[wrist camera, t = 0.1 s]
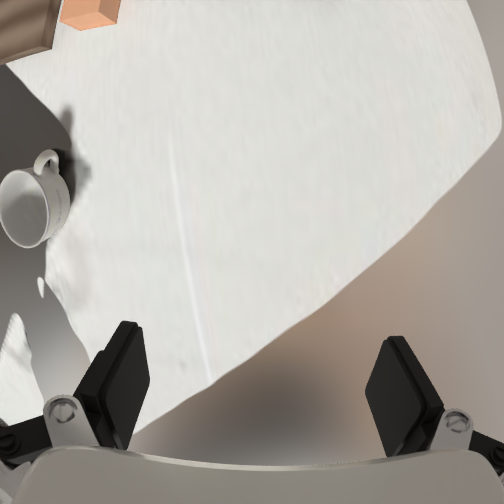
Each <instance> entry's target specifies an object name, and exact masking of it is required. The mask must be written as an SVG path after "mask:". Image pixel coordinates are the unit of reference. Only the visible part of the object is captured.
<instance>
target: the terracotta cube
mask: <svg viewBox="0 0 504 504" xmlns="http://www.w3.org/2000/svg"><path fill="white" fill-rule="evenodd" d="M120 2H121V0H64V3H63V7H62V11H61V16H60V22H62V23H64V24H67V25H69V26H71V27H73V28H75V29H77V30H80V31H82V30H87V29H91V28H96V27H102V26H107V25H113V24H116V23H117V18H118V12H119V7H120Z"/></svg>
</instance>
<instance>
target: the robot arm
mask: <svg viewBox="0 0 504 504" xmlns="http://www.w3.org/2000/svg"><path fill="white" fill-rule="evenodd" d="M149 383H150V376H149V370H148V364H147V358H146V351H145V345H144V338H143V331H142V327H139V326H138V324H137V323H136V322H130V321H122V322H121V323H120V324H119V326H118V328H117V329H116V331H115V333H114V334H113V336H112V338H111V339H110V341H109V343H108V344H107V346H106V348H105V349H104V351H102V350H101V351H99V352H98V353H97V355H96V357H95V358H94V360H93V362H92V363H91V365H90V367H89V368H88V370H87V372H86V374H85V375H84V377H83V379H82V380H81V382H80V384H79V385H78V387H77V389H76V391H75V392H74V394H73V396H70V395H58V396H55V397H53V398H51V399H50V400H49V401H47V403H46V404H45V405H44V409H43V415H42V416H39V417H36V418H33V419H30V420H27V421H24V422H21V423H18V424H14V425H11V426H8V427H5V428H2V429H0V504H504V444H503V443H502V442H499V441H497V440H494V439H492V438H490V437H488V436H485V435H483V434H481V433H479V432H476V431H474V430H473V421H472V419H471V417H470V416H469V415H468V414H467V413H466V412H464V411H462V410H460V409H448V410H446V411H445V409H444V407H443V406H444V404H443V402H442V400H441V399H440V397H439V395H438V393H437V392H436V390H435V388H434V386H433V385H432V383H431V381H430V379H429V378H428V376H427V375H426V373H425V371H424V369H423V368H422V366H421V364H420V363H419V361H418V359H417V358H416V356H415V355H414V353H413V351H412V349H411V348H410V346H409V345H408V343H407V342H406V340H405V338H404V337H403V336H389V337H388V338H387V340H384V341H383V344H382V346H381V349H380V352H379V355H378V358H377V360H376V363H375V366H374V368H373V371H372V373H371V376H370V378H369V381H368V383H367V386H366V389H365V395H366V398H367V401H368V404H369V406H370V409H371V412H372V415H373V418H374V421H375V424H376V426H377V429H378V432H379V435H380V438H381V441H382V444H383V447H384V450H385V453H386V456H387V458H380V459H373V460H366V461H357V462H348V463H337V464H324V465H306V466H248V465H229V464H216V463H204V462H196V461H188V460H180V459H173V458H166V457H160V456H153V455H147V454H142V453H136V452H131V451H126V450H127V448H128V445H129V442H130V439H131V436H132V433H133V430H134V427H135V424H136V422H137V419H138V416H139V413H140V410H141V407H142V404H143V401H144V399H145V396H146V393H147V390H148V387H149Z"/></svg>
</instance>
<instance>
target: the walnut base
mask: <svg viewBox="0 0 504 504" xmlns="http://www.w3.org/2000/svg"><path fill="white" fill-rule="evenodd" d="M60 4H61V0H0V65H2V64H5V63H8V62H11V61H14V60H17V59H20V58H23V57H26V56H29V55H33V54H36V53H39V52H43V51H46V50H50V49H52V44H53V38H54V33H55V27H56V22H57V17H58V13H59V8H60Z"/></svg>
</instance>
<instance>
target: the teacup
mask: <svg viewBox="0 0 504 504" xmlns="http://www.w3.org/2000/svg"><path fill="white" fill-rule="evenodd" d="M49 159H50V167H49V168H48V167H44V165H45V163H46V162H47V161H48V160H49ZM58 163H59V159H58V155H57V153H56V152H54V151H53V150H50V149H48V150H45V151H43V152H42V153H41V154H40V155H39V156H38V157H37V159H36V161H35V164H34V167H31V168H26V169H17V170H14V171H12V172H10V173H9V174H7V175H6V177H5V178H4V180H3V181H2V183H1V185H0V221H1V224H2V226H3V228H4V230H5V232H6V234H7V235H8V236H9V238H10V239H11V240H12V241H13V242H15V243H16V244H17V245H19V246H21V247H23V248H31V247H35V246H37V245H38V244H40V243H41V242H42V241H44V240H46V239H47V238H49V237H51V236H52V235H54V234H55V233H56V232H58V231H59V230H60V229H61V228H62V226H63V225H64V224H65V222H66V220H67V217H68V214H69V210H70V196H69V191H68V188H67V185H66V183H65V181H64V180H63V178H62V177H61V176H60V175H59V168H58Z"/></svg>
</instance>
